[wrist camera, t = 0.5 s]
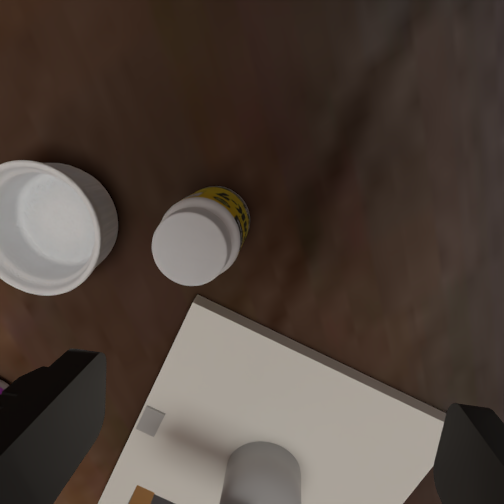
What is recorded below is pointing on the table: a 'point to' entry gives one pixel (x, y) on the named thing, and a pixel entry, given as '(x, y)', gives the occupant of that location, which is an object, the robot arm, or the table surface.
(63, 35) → the table surface
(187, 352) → the base
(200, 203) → the supplement bottle
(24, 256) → the ramekin
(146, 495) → the handle
